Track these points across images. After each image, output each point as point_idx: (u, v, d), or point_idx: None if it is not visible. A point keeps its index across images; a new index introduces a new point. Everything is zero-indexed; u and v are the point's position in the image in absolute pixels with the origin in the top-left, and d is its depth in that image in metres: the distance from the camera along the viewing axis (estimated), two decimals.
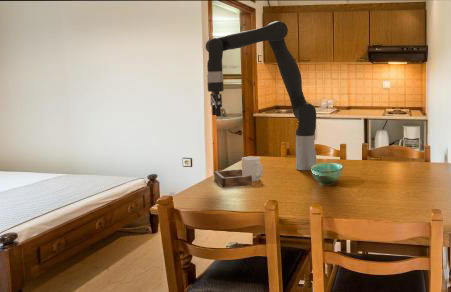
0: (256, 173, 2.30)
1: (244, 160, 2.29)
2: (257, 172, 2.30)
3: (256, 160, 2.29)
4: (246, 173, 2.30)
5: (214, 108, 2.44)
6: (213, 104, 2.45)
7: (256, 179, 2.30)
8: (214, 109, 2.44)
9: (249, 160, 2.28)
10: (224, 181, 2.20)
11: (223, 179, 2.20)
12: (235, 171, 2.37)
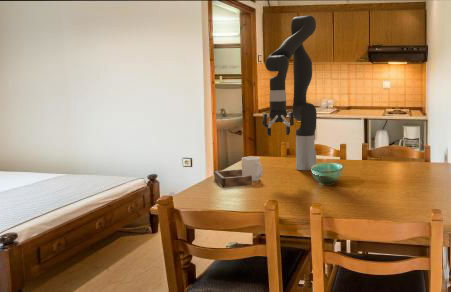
0: (256, 173, 2.30)
1: (244, 160, 2.29)
2: (257, 172, 2.30)
3: (256, 160, 2.29)
4: (246, 173, 2.30)
5: None
6: (268, 125, 2.30)
7: (256, 179, 2.30)
8: None
9: (249, 160, 2.28)
10: (224, 181, 2.20)
11: (223, 179, 2.20)
12: (235, 171, 2.37)
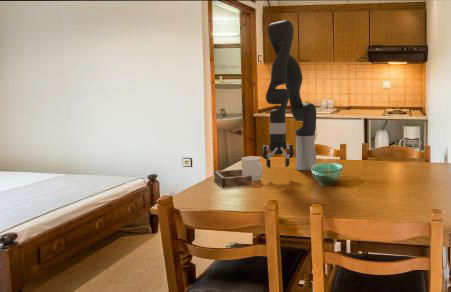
0: (256, 173, 2.30)
1: (244, 160, 2.29)
2: (257, 172, 2.30)
3: (256, 160, 2.29)
4: (246, 173, 2.30)
5: None
6: (267, 156, 2.32)
7: (256, 179, 2.30)
8: None
9: (249, 160, 2.28)
10: (224, 181, 2.20)
11: (223, 179, 2.20)
12: (235, 171, 2.37)
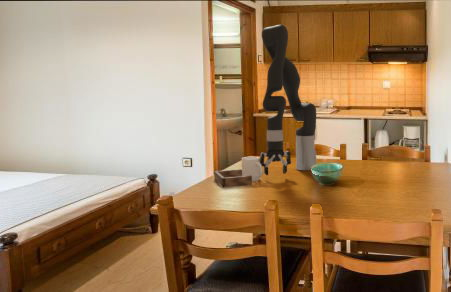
0: (256, 173, 2.30)
1: (244, 160, 2.29)
2: (257, 172, 2.30)
3: (256, 160, 2.29)
4: (246, 173, 2.30)
5: None
6: (265, 164, 2.32)
7: (256, 179, 2.30)
8: None
9: (249, 160, 2.28)
10: (224, 181, 2.20)
11: (223, 179, 2.20)
12: (235, 171, 2.37)
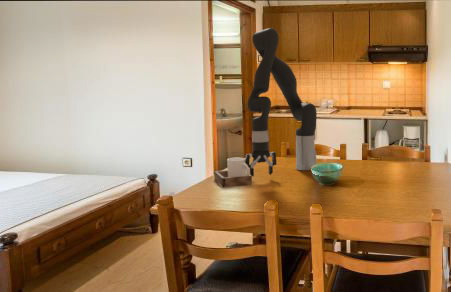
0: (242, 174, 2.28)
1: (230, 161, 2.27)
2: (243, 173, 2.29)
3: (242, 161, 2.27)
4: (232, 174, 2.28)
5: None
6: (251, 165, 2.30)
7: None
8: None
9: (235, 161, 2.26)
10: (224, 181, 2.20)
11: (223, 179, 2.20)
12: None
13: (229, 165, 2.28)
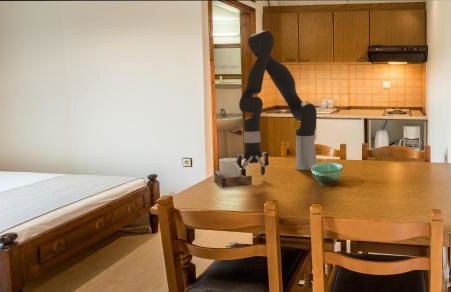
0: (234, 175, 2.27)
1: (222, 162, 2.27)
2: (235, 174, 2.28)
3: (234, 161, 2.27)
4: (223, 175, 2.27)
5: None
6: (243, 166, 2.30)
7: None
8: None
9: (227, 162, 2.26)
10: (224, 181, 2.20)
11: (223, 179, 2.20)
12: None
13: (221, 165, 2.28)
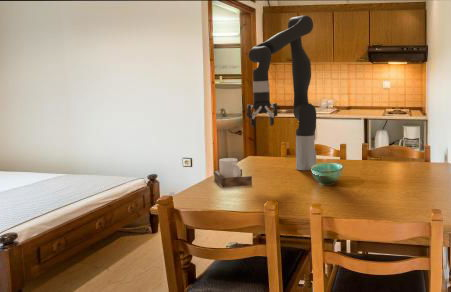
0: (234, 175, 2.27)
1: (222, 162, 2.27)
2: (235, 174, 2.28)
3: (234, 162, 2.27)
4: (223, 175, 2.27)
5: None
6: (252, 116, 2.31)
7: None
8: None
9: (227, 162, 2.26)
10: (224, 181, 2.20)
11: (223, 179, 2.20)
12: None
13: (221, 166, 2.28)
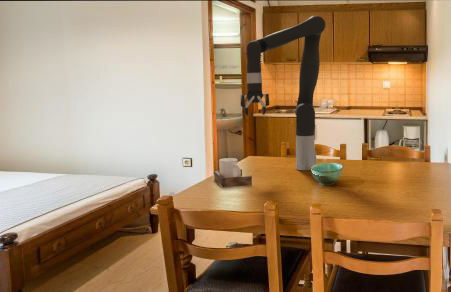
0: (234, 175, 2.27)
1: (222, 162, 2.27)
2: (235, 174, 2.28)
3: (234, 162, 2.27)
4: (223, 175, 2.27)
5: None
6: (245, 105, 2.49)
7: None
8: None
9: (227, 162, 2.26)
10: (224, 181, 2.20)
11: (223, 179, 2.20)
12: None
13: (221, 166, 2.28)
